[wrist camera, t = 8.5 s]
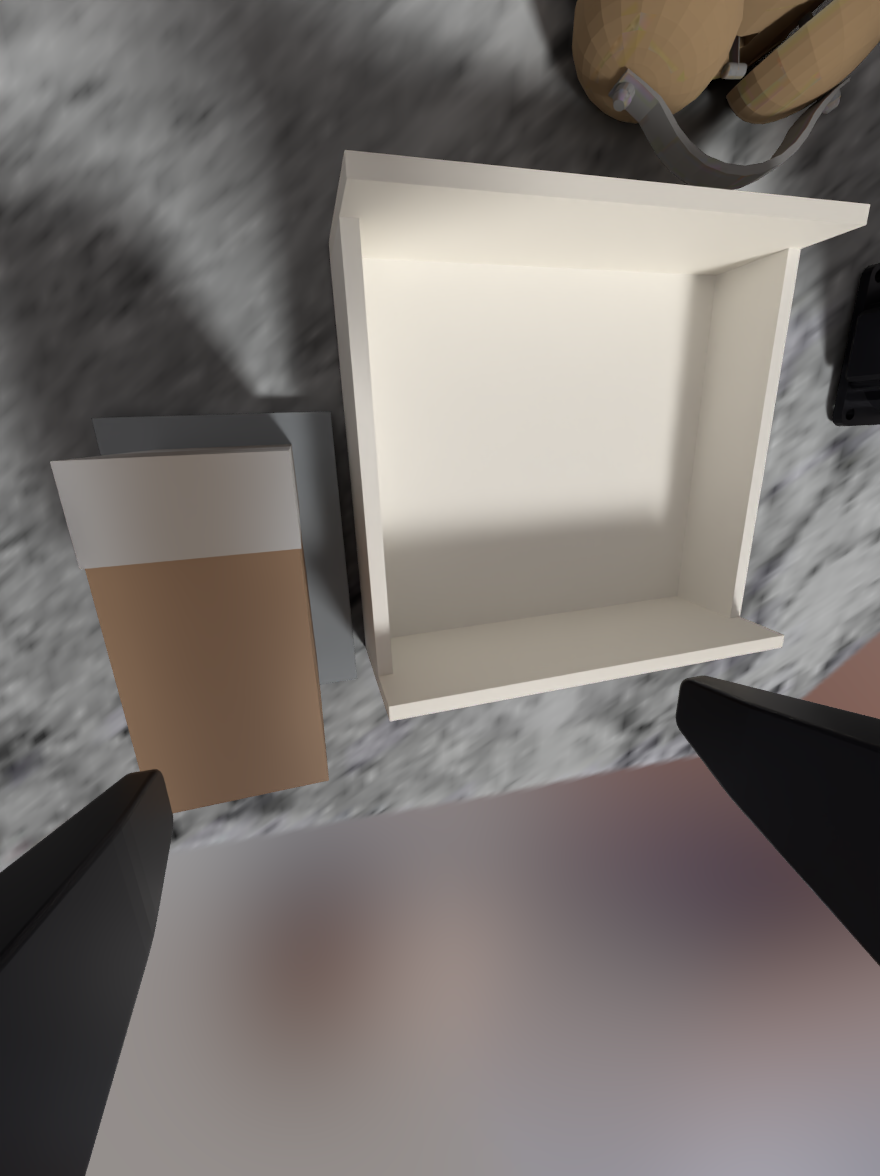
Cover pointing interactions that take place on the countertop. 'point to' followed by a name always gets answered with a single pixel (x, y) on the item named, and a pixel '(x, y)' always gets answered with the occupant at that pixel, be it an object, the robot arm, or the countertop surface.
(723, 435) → the drawer
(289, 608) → the walnut block
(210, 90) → the countertop surface
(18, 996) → the robot arm
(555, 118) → the countertop surface
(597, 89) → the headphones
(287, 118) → the countertop surface
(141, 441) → the slate mat
